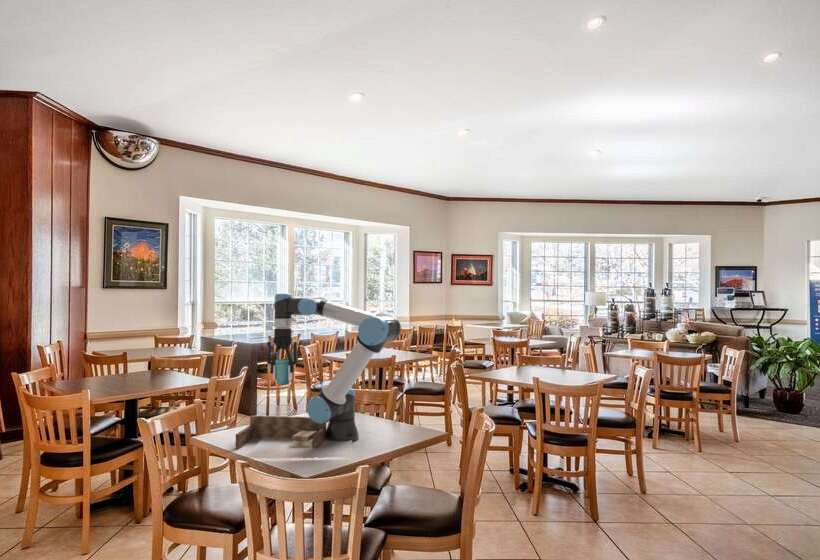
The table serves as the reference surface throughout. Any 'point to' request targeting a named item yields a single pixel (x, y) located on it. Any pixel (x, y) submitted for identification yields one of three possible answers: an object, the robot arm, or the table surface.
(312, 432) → the offcut top
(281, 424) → the tray
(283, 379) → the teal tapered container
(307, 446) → the offcut bottom
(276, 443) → the table surface
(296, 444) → the offcut middle
